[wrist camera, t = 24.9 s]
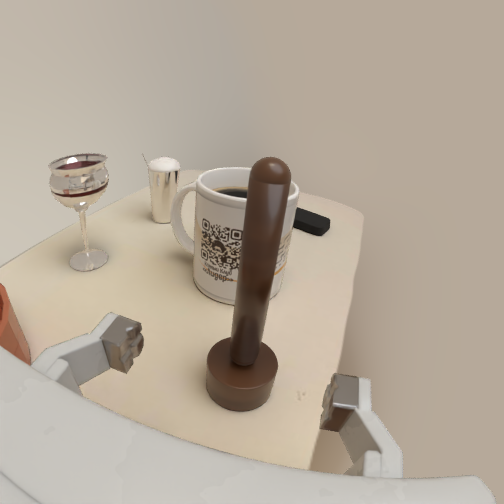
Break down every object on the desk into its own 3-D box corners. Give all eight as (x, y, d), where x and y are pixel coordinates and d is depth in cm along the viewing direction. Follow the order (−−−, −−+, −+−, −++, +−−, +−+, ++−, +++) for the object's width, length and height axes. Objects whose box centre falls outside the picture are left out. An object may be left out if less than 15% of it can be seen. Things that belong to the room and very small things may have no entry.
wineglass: (81, 241, 38) (72, 152, 32) (124, 249, 37) (119, 154, 31) (52, 269, 32) (35, 169, 26) (98, 280, 32) (85, 172, 26)
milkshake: (141, 214, 46) (141, 150, 41) (175, 211, 49) (177, 148, 44) (144, 227, 43) (143, 157, 38) (181, 224, 45) (183, 155, 40)
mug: (210, 318, 29) (217, 207, 24) (168, 254, 38) (168, 165, 32) (299, 291, 34) (321, 195, 29) (243, 240, 43) (253, 159, 37)
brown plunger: (269, 415, 21) (333, 181, 12) (200, 405, 21) (209, 163, 12) (272, 365, 25) (319, 154, 17) (212, 356, 25) (228, 141, 17)
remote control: (330, 229, 51) (252, 198, 56) (333, 219, 50) (253, 189, 55) (319, 240, 47) (236, 206, 53) (322, 229, 46) (237, 196, 52)
